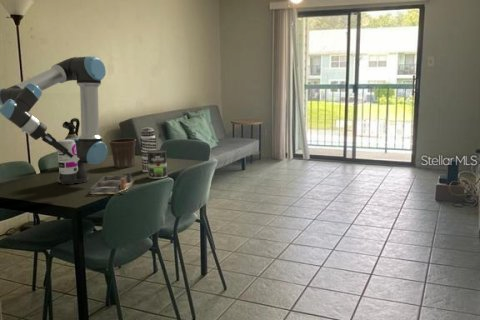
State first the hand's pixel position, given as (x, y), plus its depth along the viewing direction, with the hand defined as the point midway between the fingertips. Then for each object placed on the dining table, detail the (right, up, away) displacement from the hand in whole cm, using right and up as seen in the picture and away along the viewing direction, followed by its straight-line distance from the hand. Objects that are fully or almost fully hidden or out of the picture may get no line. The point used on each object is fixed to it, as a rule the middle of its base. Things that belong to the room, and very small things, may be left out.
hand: (75, 159), depth 219 cm
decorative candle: (+24, -7, +57) cm, 62 cm away
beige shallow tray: (+13, -14, +18) cm, 26 cm away
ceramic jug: (-26, -5, +75) cm, 79 cm away
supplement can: (-3, -6, -1) cm, 7 cm away
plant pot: (+5, -4, +73) cm, 73 cm away
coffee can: (+31, -10, +41) cm, 52 cm away
